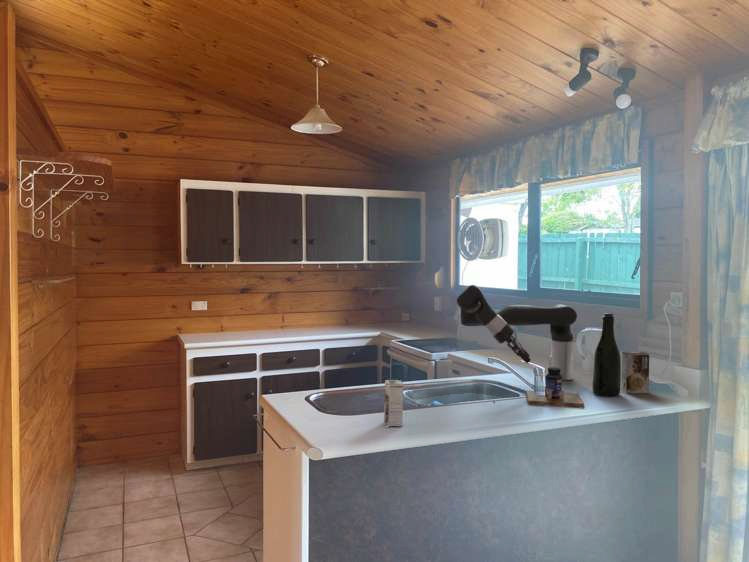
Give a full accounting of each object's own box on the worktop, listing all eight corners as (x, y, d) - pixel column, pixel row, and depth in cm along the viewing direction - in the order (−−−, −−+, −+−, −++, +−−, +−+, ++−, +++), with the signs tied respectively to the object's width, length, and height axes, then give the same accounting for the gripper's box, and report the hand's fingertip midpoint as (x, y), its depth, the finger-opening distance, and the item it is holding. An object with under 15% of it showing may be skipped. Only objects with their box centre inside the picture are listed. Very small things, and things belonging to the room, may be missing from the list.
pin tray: (528, 404, 223) (528, 391, 222) (526, 394, 238) (526, 381, 238) (584, 407, 219) (584, 394, 218) (578, 397, 234) (578, 384, 234)
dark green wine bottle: (623, 393, 240) (625, 312, 238) (616, 398, 232) (619, 315, 230) (596, 389, 246) (598, 311, 244) (589, 394, 238) (591, 313, 236)
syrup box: (383, 422, 199) (383, 379, 198) (401, 422, 199) (401, 379, 198) (385, 427, 193) (385, 383, 192) (403, 427, 194) (403, 383, 193)
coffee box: (643, 390, 246) (644, 351, 245) (648, 393, 240) (650, 354, 239) (620, 389, 247) (621, 351, 246) (625, 393, 241) (626, 354, 240)
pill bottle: (559, 399, 224) (559, 370, 224) (543, 397, 228) (543, 368, 227) (563, 396, 230) (564, 367, 229) (547, 393, 233) (548, 366, 232)
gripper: (492, 332, 238) (520, 362, 236) (491, 338, 224) (521, 369, 222) (506, 320, 237) (534, 350, 235) (506, 324, 223) (537, 356, 221)
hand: (528, 359), depth 229 cm, fingers open, 8 cm apart
